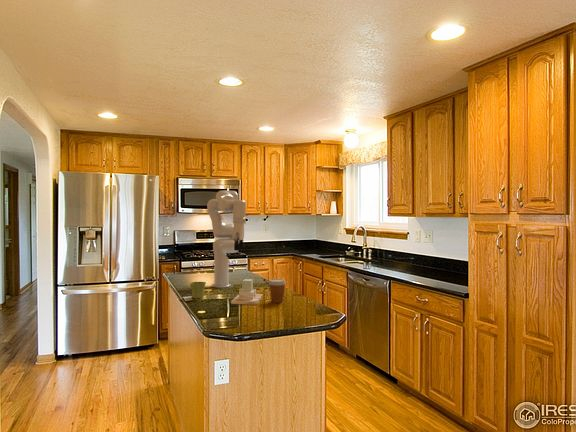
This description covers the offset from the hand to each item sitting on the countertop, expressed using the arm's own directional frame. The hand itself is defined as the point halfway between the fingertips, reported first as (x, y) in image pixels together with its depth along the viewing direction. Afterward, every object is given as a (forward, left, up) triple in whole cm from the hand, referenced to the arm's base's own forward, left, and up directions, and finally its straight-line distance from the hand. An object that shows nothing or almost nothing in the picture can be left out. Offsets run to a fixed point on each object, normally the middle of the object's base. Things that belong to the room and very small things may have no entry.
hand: (238, 249), depth 242 cm
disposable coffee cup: (+13, +25, -28) cm, 39 cm away
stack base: (+12, +8, -28) cm, 31 cm away
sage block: (+12, +8, -22) cm, 26 cm away
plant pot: (+9, -22, -28) cm, 37 cm away
